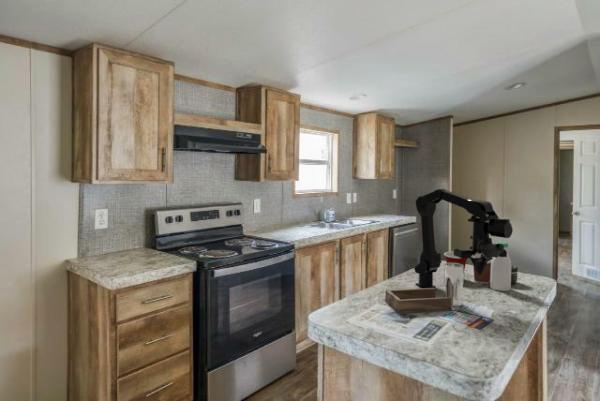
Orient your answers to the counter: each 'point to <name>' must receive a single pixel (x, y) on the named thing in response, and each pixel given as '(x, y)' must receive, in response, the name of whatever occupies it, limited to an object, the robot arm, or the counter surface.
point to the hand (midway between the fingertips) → (479, 274)
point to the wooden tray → (417, 301)
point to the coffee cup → (483, 274)
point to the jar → (514, 274)
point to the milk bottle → (501, 271)
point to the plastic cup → (454, 258)
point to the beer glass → (454, 282)
